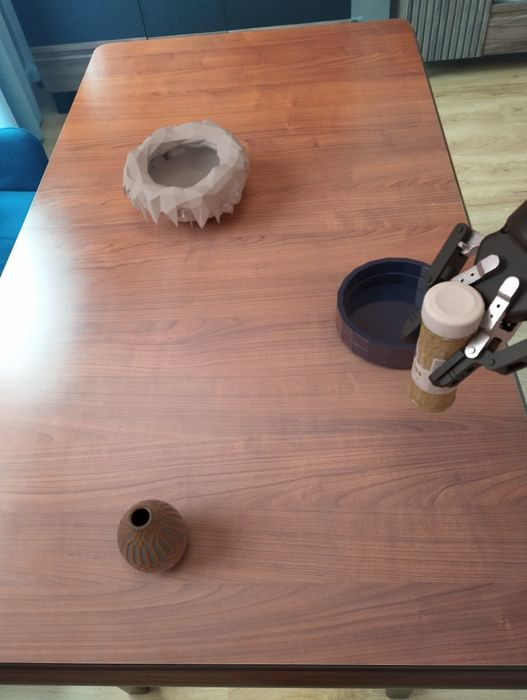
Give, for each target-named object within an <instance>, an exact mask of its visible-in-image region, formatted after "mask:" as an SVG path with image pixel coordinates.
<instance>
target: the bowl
mask: <svg viewBox="0 0 527 700" xmlns="http://www.w3.org/2000/svg"><path fill="white" fill-rule="evenodd" d="M246 152H247V151H246V147H245V146H244V144H242V142H241V141H240V140H239V139H238V138H237V137H236V136H235V135H234V133H233V132H232V131H231V129H227V128H224V127H222V126H221V125H220V124H218V123H217V122H215V121H213V120H212V119H210V118H205V119H204V120H202V121H189V122H185V123H181V124H180V125H168V126H163V127H160V128H157V129H155V130H154V131H153V133H151V134H150V135H148V136H147V137H146V138H145V140H143V141H142V143H140V145H138V146H137V147H136V148H134V149H132V150H130V151H129V152H128V153H127V155H126V160H125V165H124V167H122V170H123V171H122V173H123V174H122V191H123V193H124V197H125V198H128V199H129V201H130V202H131V205H132V207H133V208H134V209H137V211H138V213H139V214H140V213H141V214H142V216H143V218H144V220H145V222H146V224H147V225H148V217H147V212H148V213H149V214H150V216H151V219H152V221H153V222H154V223H156V224H158V223H159V220H160V219H161V220H162V221H171V222H172V223H173V224H174V225H175V227H176V228H179V222H185V223H187V222H189V223H190V226H191V228H194V226H193V222H195V221H196V223H197V224H198V226H199V227H200V228H201V229H204V227H205V225H206V223H207V221H208V219H211V218H213V217H214V218H215V219H216V221H217V223H218V224H220V219H221V216H224V215H223V213H230V214H231V215H232V216H233V213H234V206H235V205H238V204H239V202H240V201H241V199H242V193H243V190H244V188H245V186H246V182H247V179H248V174H249V173H248V172H249V171H250V165H251V164H250V159H249V157H248V154H247V153H246ZM146 211H147V212H146Z"/></svg>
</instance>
